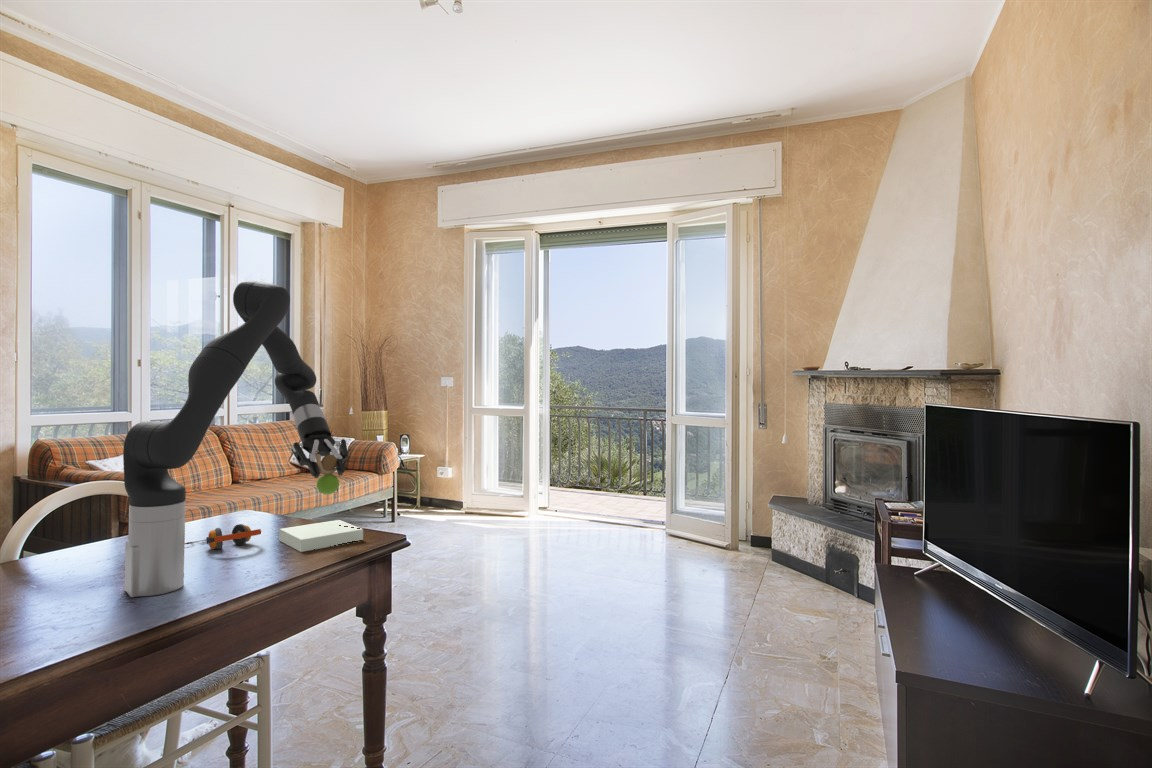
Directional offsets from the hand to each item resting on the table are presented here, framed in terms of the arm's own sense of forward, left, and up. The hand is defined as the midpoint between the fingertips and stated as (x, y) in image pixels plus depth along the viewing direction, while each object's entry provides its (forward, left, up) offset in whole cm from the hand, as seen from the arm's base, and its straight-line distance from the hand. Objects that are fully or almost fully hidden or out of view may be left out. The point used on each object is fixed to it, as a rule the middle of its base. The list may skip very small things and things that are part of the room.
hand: (329, 474), depth 155 cm
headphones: (-19, +14, -18) cm, 30 cm away
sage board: (0, +4, -18) cm, 18 cm away
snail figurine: (0, +2, -6) cm, 6 cm away
